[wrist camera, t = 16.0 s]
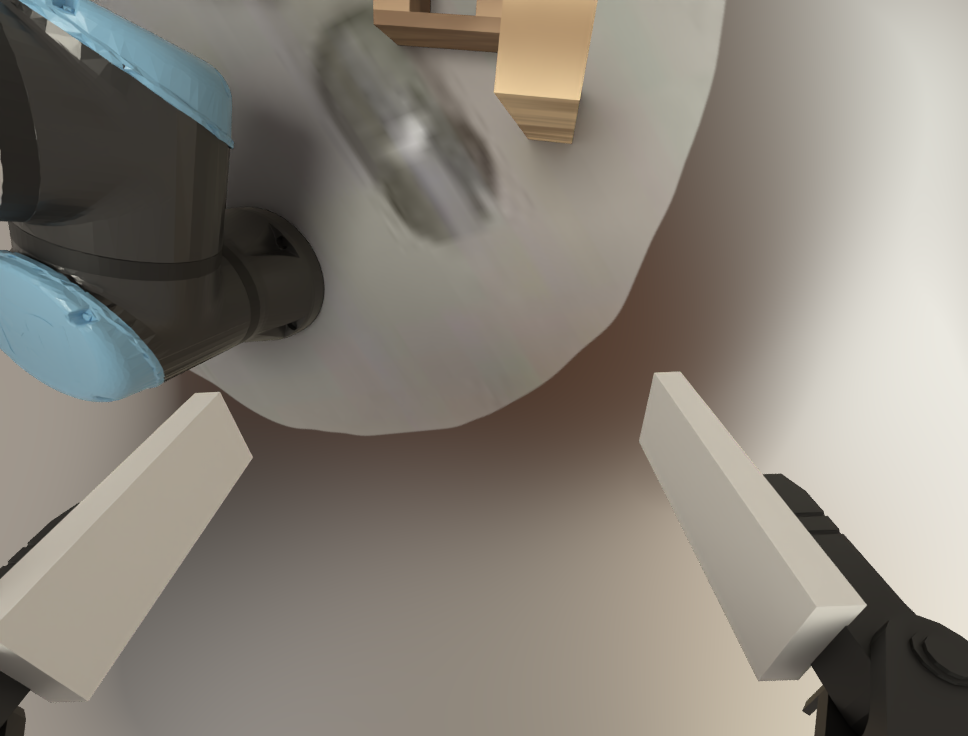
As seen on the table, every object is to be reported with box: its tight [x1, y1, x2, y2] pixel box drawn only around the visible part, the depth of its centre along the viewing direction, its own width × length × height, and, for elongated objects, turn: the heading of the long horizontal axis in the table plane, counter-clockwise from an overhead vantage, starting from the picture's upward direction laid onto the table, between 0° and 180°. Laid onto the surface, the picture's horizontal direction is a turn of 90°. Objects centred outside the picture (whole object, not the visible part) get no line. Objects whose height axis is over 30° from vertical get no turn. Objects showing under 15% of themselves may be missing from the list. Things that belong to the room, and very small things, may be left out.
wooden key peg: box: [494, 0, 598, 144], centre depth 26 cm, size 4×4×20 cm
